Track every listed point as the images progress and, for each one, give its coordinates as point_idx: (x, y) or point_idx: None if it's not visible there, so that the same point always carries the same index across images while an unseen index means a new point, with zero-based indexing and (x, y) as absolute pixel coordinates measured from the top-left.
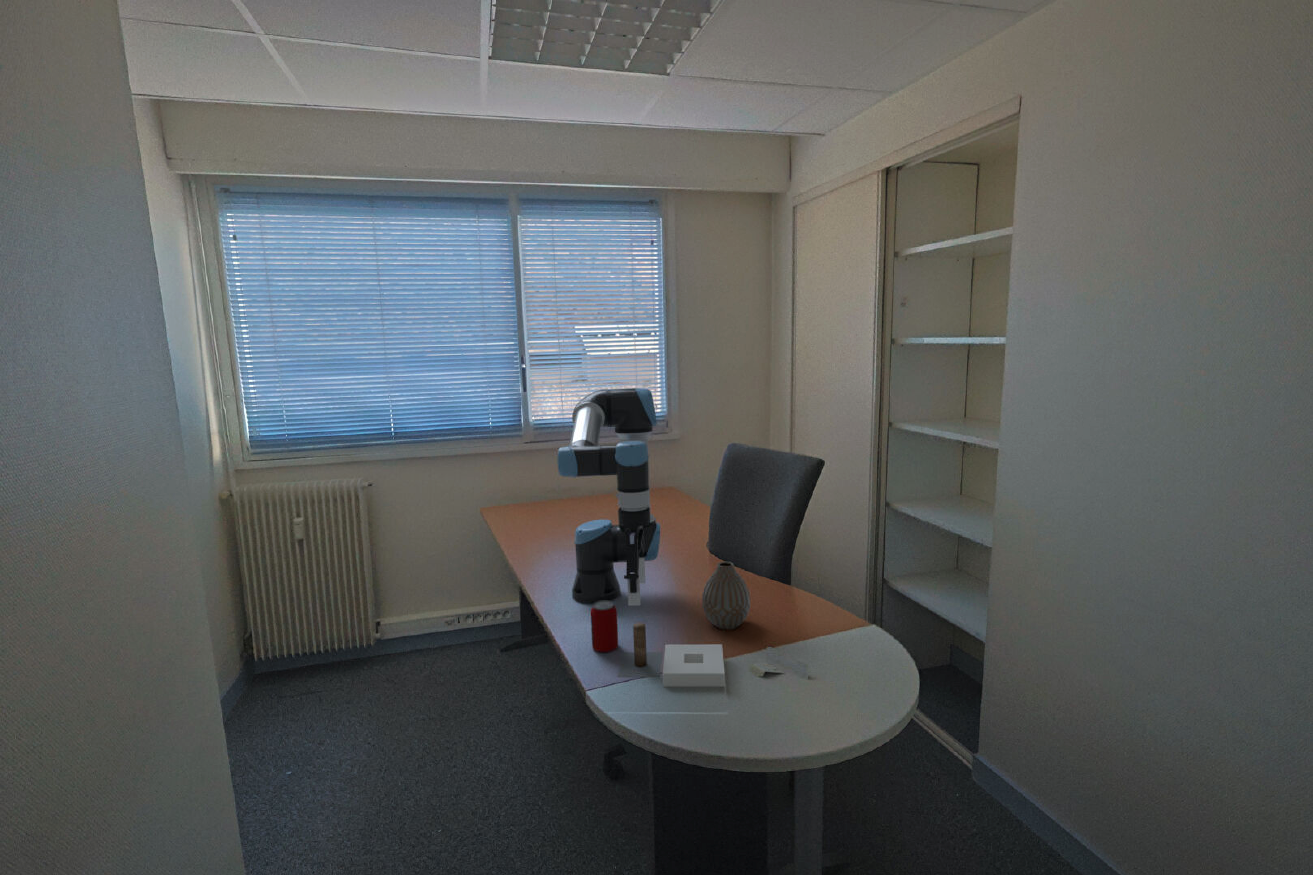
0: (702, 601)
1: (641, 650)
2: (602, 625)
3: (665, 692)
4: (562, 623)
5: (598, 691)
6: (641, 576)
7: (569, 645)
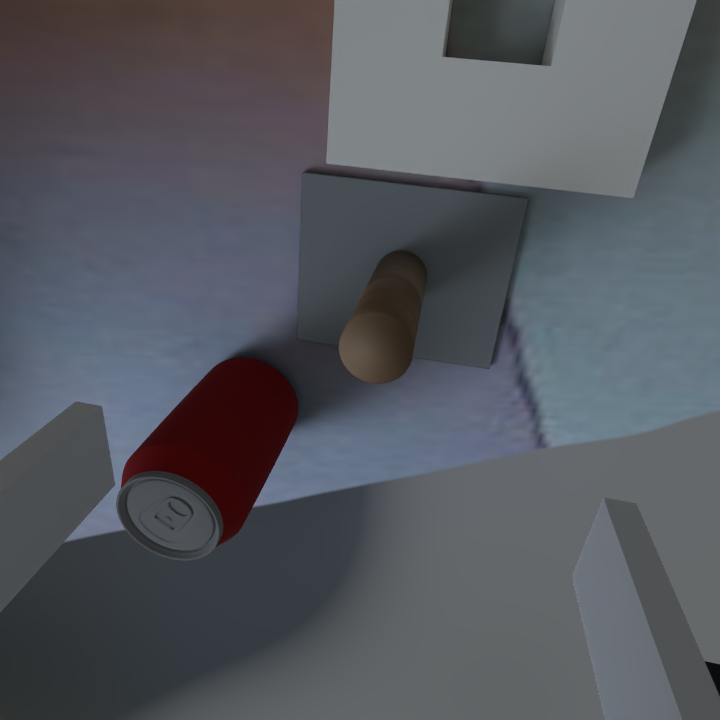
0: None
1: (421, 297)
2: (263, 476)
3: (656, 178)
4: None
5: (566, 430)
6: (61, 473)
7: None
